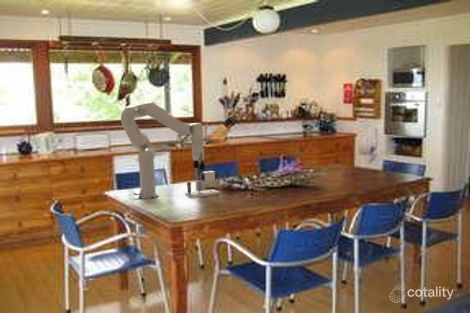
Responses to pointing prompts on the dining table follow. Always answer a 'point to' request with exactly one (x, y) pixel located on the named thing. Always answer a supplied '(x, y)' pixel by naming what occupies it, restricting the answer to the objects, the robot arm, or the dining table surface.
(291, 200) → the dining table surface
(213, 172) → the pneumatic valve
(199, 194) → the pitch plate
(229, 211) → the dining table surface
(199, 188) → the slider leg
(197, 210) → the dining table surface
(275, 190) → the dining table surface
